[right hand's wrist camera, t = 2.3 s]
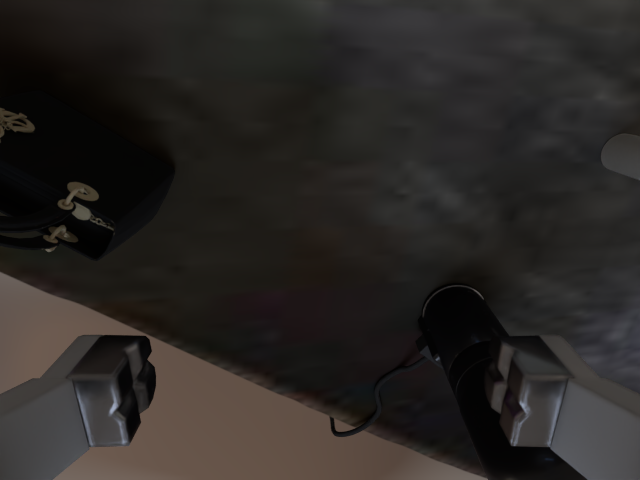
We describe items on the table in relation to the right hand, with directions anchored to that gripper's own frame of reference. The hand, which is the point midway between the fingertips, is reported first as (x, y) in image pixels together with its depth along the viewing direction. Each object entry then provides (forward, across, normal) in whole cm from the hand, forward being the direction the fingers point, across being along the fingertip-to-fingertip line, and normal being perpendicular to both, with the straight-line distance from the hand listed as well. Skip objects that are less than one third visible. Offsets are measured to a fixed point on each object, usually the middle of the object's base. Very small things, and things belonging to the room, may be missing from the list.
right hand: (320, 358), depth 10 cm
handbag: (+48, +29, +4) cm, 56 cm away
